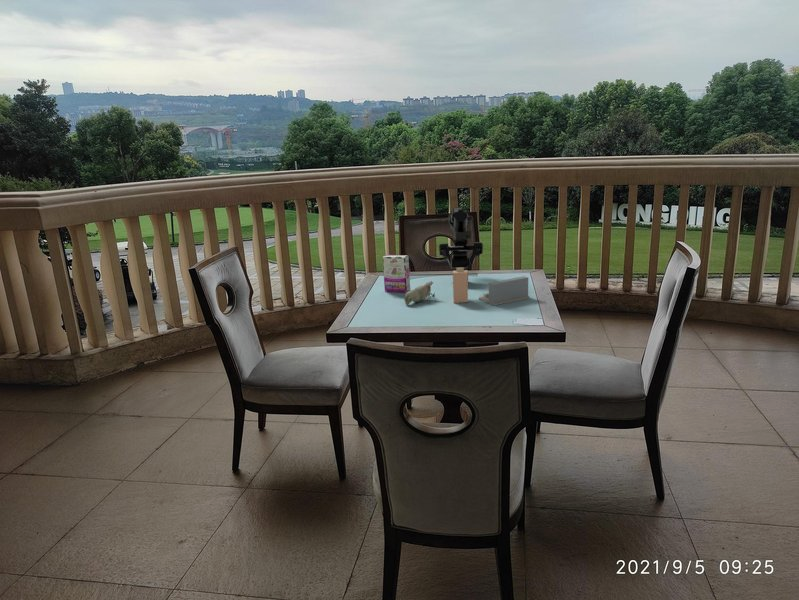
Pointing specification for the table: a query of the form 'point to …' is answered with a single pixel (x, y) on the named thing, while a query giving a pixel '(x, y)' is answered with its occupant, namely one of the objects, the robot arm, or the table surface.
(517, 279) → the wall board
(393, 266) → the candy bar box
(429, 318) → the table surface
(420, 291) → the decorative bird
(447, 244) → the robot arm
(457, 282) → the tan tall block
